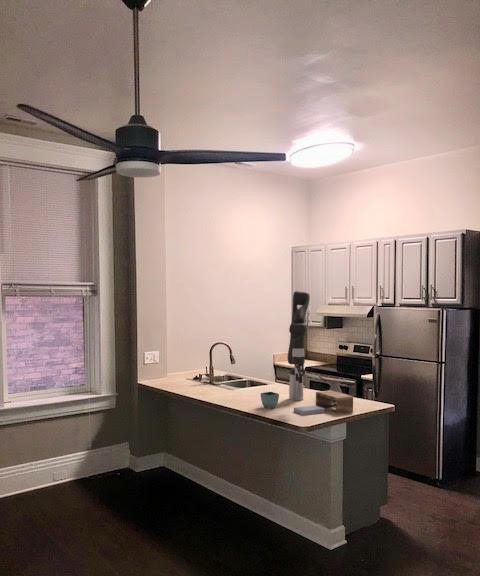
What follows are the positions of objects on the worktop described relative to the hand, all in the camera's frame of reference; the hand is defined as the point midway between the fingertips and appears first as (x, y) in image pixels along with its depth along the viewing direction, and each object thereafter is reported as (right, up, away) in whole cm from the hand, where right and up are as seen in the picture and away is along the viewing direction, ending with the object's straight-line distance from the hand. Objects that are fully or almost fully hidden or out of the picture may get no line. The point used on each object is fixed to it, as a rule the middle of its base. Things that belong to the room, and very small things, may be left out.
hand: (299, 382), depth 309 cm
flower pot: (-18, -18, +9) cm, 27 cm away
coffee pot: (+25, -19, +35) cm, 47 cm away
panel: (+6, -18, -4) cm, 20 cm away
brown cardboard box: (+23, -18, +5) cm, 29 cm away
